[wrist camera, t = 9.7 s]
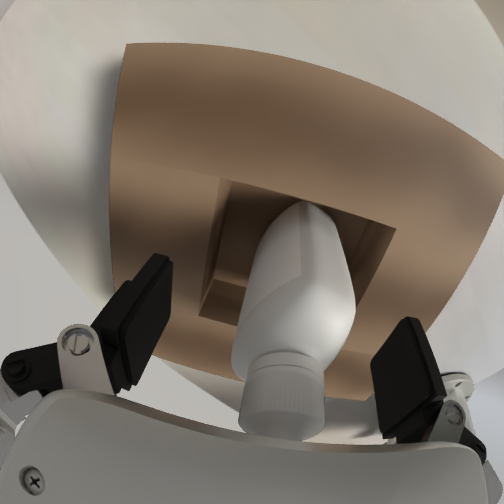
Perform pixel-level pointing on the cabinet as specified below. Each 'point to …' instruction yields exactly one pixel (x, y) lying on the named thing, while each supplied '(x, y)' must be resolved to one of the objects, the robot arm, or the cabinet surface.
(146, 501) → the robot arm
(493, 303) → the cabinet surface
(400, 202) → the walnut socket block
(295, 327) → the eye dropper bottle
